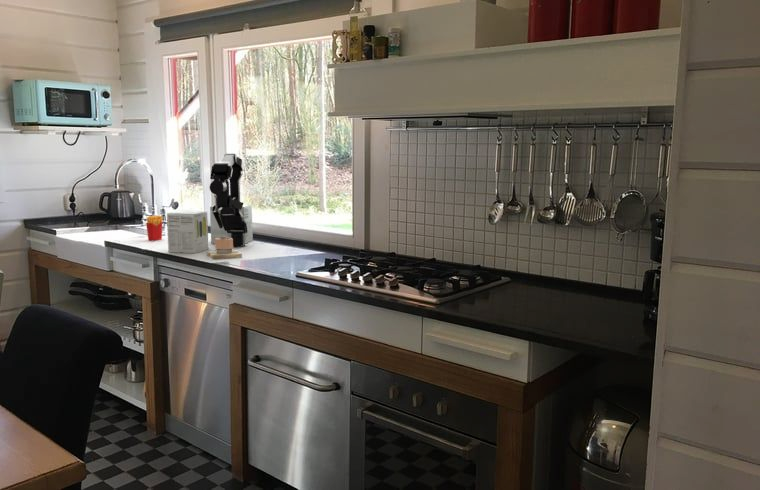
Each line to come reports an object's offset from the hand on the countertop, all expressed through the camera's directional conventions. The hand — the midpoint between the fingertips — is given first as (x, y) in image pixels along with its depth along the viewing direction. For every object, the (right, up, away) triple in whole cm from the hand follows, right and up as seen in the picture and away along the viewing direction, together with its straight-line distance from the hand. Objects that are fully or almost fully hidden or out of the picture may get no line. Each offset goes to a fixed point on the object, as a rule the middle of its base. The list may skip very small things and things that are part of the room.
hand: (223, 229), depth 271 cm
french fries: (-45, -4, +47) cm, 65 cm away
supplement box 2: (-6, -5, +42) cm, 43 cm away
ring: (0, -8, +1) cm, 8 cm away
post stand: (0, -11, +2) cm, 11 cm away
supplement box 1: (-19, -9, +15) cm, 26 cm away
